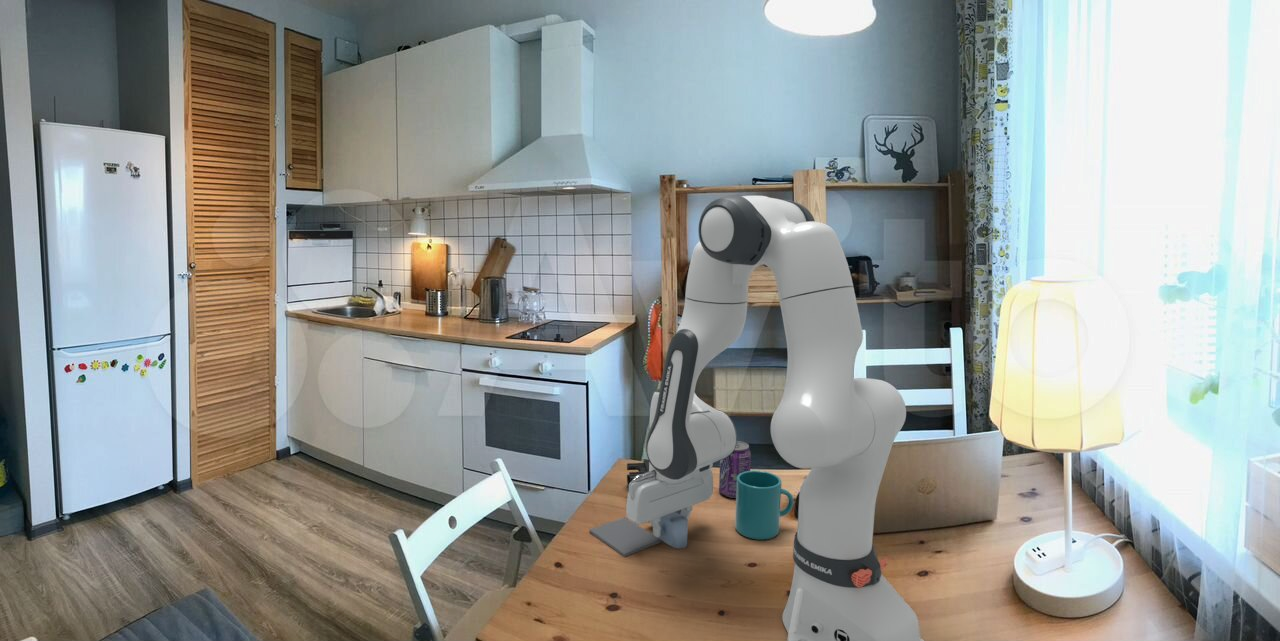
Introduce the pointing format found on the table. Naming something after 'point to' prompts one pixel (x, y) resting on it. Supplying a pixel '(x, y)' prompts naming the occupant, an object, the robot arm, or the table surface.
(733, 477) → the beverage can
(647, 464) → the end cap
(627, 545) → the pad
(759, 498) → the cup
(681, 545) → the blue connector
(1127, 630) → the table surface
